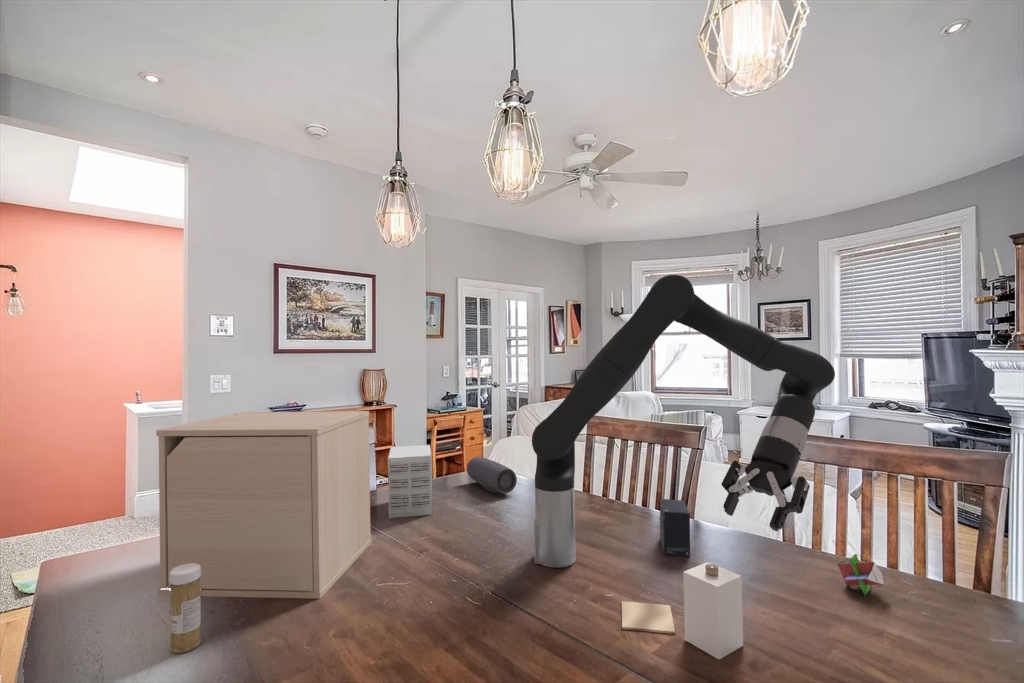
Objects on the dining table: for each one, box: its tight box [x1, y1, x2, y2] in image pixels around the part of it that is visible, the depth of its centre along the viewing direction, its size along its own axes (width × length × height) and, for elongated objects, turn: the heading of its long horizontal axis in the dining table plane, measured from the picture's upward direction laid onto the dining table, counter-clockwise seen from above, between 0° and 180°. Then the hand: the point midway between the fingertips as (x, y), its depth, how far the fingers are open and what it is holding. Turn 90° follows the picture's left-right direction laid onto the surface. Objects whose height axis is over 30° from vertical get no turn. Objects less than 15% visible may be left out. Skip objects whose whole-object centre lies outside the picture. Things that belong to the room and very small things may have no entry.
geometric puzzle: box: [837, 553, 885, 596], centre depth 100 cm, size 7×7×8 cm
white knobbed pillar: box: [682, 562, 744, 661], centre depth 84 cm, size 6×6×13 cm
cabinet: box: [156, 410, 372, 600], centre depth 117 cm, size 35×29×34 cm
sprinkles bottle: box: [169, 563, 202, 654], centre depth 85 cm, size 5×5×14 cm
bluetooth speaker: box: [466, 456, 518, 494], centre depth 177 cm, size 23×9×10 cm, turn 30°
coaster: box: [621, 600, 676, 635], centre depth 92 cm, size 9×9×1 cm
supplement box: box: [387, 444, 433, 519], centre depth 158 cm, size 17×13×18 cm
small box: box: [659, 498, 691, 557], centre depth 123 cm, size 11×6×10 cm, turn 168°
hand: (749, 521), depth 91 cm, fingers open, 8 cm apart
